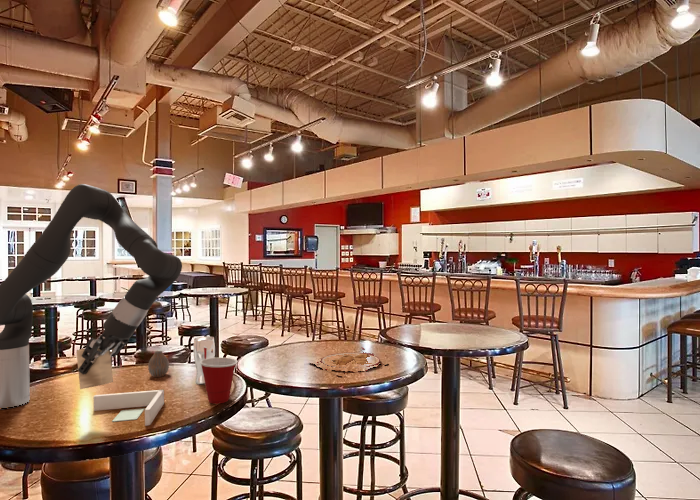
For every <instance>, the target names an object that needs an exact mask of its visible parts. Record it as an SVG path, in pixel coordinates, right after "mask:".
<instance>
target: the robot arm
mask: <svg viewBox="0 0 700 500" xmlns="http://www.w3.org/2000/svg"><path fill="white" fill-rule="evenodd" d="M83 218H87V219H91V220H98V221H100V222H102V223H104V224H106V225H107V226H109V227H110V228H111V229H112V231H113V232H114V237H115V239H116V241H117V243H118V244H119V245H120V246H121V248H123V249H124V251H126V252H127V253H128V254H129V255H130V256H132V257H133V258H134V261H135V262H136V264H137V265H138V267H139V268H140V270H141V271H142V272H143V273H145V274H146V275H147V277H145V278H142V279H137V280H135V281H134V282H133V284H131V286H130V287H129V288H128V291H126V293H125V295H124V296H123V297H122V298H121V299H120V300H119V302H117V304H116V305H115V307H114V308H113V309H112V311H111V312H110V314H109V315H108V316H107V318H106V319H105V321H104V322H103V325H102V326H103V327H102V328H103V331H104V332H102V334H100V335H99V336H98V338H96V339H95V338H94V337H91V338H89V340H88V342H87V344H86V346H85V347H84V349H85V350H84V352H83V354H82V357H83V358H84V359H85V361H84V362H83V363H82V365H81V366H80V368H79V369H78V368H77V370H78V371H79V372H80V373H82V374H83V375H84V374H87V372H88V371H89V370H90V368H91V367H92V365H93V364H94V362H95V361H96V360H97V359H98V357H99V356H103V355H104V354H105V353H106V352H107V351H109V354H110V355H111V358H115V357H116V356H117V355H118V354H119V353H120V352H121V351H122V350H123V348H124V347H126V345H127V344H128V343H129V341H130V339H131V337H132V336H133V334H134V333H135V332H136V330H137V329H138V327H139V326H140V324H141V323H142V322H143V320H144V319H145V317H146V315H147V314H148V311H149V310H150V309H151V307H152V306H153V304H154V303H155V301H156V300H157V298H158V297H160V295H161V294H163V293H164V292H165V291H166V290H167V289H168V288H170V286H171V285H173V284H174V283H175V282H176V280H177V279H178V278H179V276H180V275H181V273H182V269H183V262H182V261H181V259H180V258H179V257H178V256H176V255H173V254H170V253H167V252H164V251H162V250H160V249H159V248H158V243H157V242H156V241H155V239H154V238H152V237H151V236H150V234H148V233H147V232H146V231H145V230H143V228H142V227H140V226H139V225H138V224H137V223H136V222H135V221H134V220H133V219H132V218H131V217H130V215H128V213H127V212H126V210H125V209H124V208H123V207H122V205H121V204H120V203H119V202H118V200H117V199H116V198H115V197H114V195H113V194H111V192H109V191H107V190H106V189H103V188H100V187H97V186H93V185H90V184H85V183H80V184H77V185H75V186H74V187H73V188H72V189H71V190H70V191H69V192H68V193H67V194H66V195H65V197H64V200H63V201H62V203H61V204H60V206H59V207H58V209H57V211H56V213H55V214H54V215H53V217H52V219H51V220H50V222H49V223H48V225H46V228H44V230H43V232H42V233H40V236H38V238H37V239H36V241H35V242H33V243H32V245H31V246H30V248H29V249H28V250H27V251H26V252H25V254H24V255H23V257H22V258H21V260H20V261H19V262H18V263H17V265H16V266H15V267H14V269H12V271H11V272H10V274H8V276H7V277H6V278H5V279H4V280H3V281H2V282H1V283H0V326H4V328H3V330H2V331H1V332H0V408H7V407H13V408H15V407H14V406H17V407H20V406H19V405H21V406H23V405H26V404H28V403H29V402H30V401H31V392H30V386H31V385H30V382H31V381H30V339H31V336H32V332H33V316H34V315H33V314H34V307H33V306H34V305H33V302H32V299H31V298H30V295H28V293H29V292H30V291H31V290H33V289H35V288H36V287H38V286H39V285H41V284H42V283H45V281H47V280H49V279H51V277H53V276H54V275H55V274H56V273H58V271H59V270H60V269H61V268H62V266H64V264H65V262H66V261H67V260H68V259H69V257H70V254H71V250H72V248H71V247H72V245H71V244H72V241H71V236H72V235H71V234H72V232H73V231H74V229H75V227H76V225H77V224H78V223H79V222H80V221H81V220H82V219H83ZM98 348H99V349H100V350H102V352H100V351H98V350H97V349H98ZM95 353H96V356H95V357H94V355H95ZM79 372H78V373H79ZM29 400H30V401H29ZM27 402H28V403H27ZM25 403H26V404H25ZM22 404H23V405H22ZM7 409H8V408H7Z"/></svg>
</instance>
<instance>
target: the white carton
mask: <svg viewBox="0 0 700 500" xmlns="http://www.w3.org/2000/svg"><path fill="white" fill-rule="evenodd" d="M192 352H193V359H194V365H195V370H196V372H195V373H196V374H195V376H196V377H195V384H196V385H201V386H202V385H205V380H204V374H203V370H202V366H201V364H200V361H201V360H204V359H208V358H215V355H216V346H215V337H214V336H210V335H209V336H206V335H205V336H198V337H195V338H193V351H192Z"/></svg>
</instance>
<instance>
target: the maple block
mask: <svg viewBox="0 0 700 500" xmlns="http://www.w3.org/2000/svg"><path fill="white" fill-rule="evenodd" d="M84 350H85V348H81V349H80V348H79V349H76V350H75V351H76V359H77V370H78V369H79V368H80V366H81V365H82V363H83V362H84V361H85V359H84V358H83V357H82V354H83V352H84ZM97 350H98V351H100V352H102V350H100V349H99V348H98V349H97ZM95 356H96V353H95V355H94V357H95ZM78 379H79V380H78V381H79V389H80V390H83V389H89V388H94V387H99V386H104V385H106V384H111V383H114V375H113V367H112V357H111V355H110V354H109V351H107V352H106V353H105V354H104V355H103V356H99V357H98V359H97V360H96V361H95V362H94V364H93V365H92V367H91V368H90V370H89V371H88V372H87V374H84V375H83V374H82V373H80V372H79V371H78Z"/></svg>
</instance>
